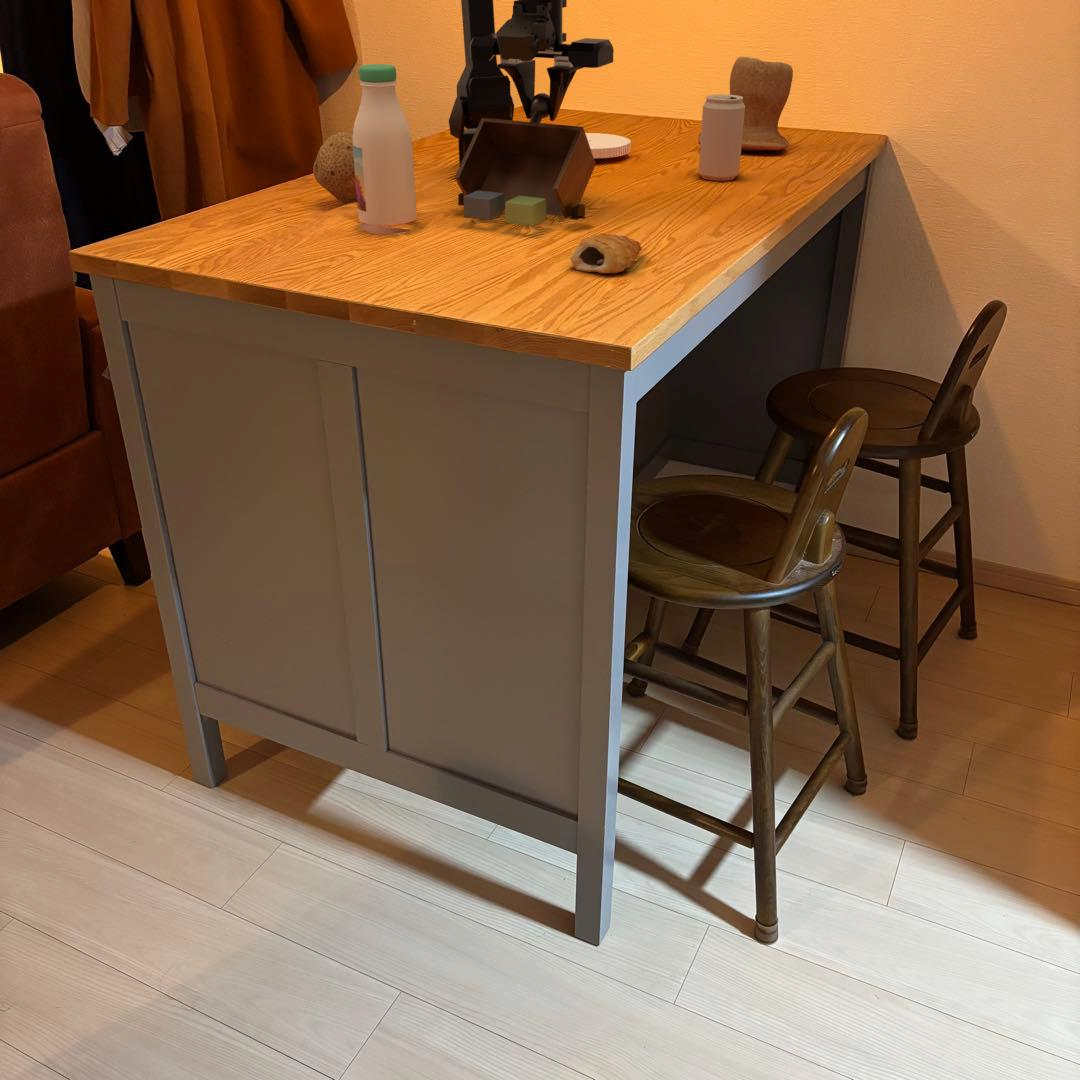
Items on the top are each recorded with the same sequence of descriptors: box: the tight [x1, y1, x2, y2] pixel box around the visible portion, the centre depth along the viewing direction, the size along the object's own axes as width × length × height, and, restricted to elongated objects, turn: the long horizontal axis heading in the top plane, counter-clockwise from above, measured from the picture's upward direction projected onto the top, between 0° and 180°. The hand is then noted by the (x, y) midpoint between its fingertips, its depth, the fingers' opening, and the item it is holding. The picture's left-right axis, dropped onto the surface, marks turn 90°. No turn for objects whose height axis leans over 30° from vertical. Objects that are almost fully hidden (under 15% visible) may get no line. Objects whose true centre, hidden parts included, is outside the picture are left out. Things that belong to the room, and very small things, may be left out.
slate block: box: [463, 190, 505, 221], centre depth 144 cm, size 4×4×4 cm
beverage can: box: [698, 93, 745, 182], centre depth 167 cm, size 6×6×12 cm
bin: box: [454, 92, 597, 219], centre depth 145 cm, size 15×15×8 cm
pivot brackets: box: [457, 192, 587, 221], centre depth 146 cm, size 19×2×3 cm, turn 64°
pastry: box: [570, 233, 642, 274], centre depth 128 cm, size 9×7×4 cm
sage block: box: [504, 196, 547, 227], centre depth 141 cm, size 4×4×4 cm
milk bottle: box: [352, 63, 418, 235], centre depth 138 cm, size 8×8×20 cm
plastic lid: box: [585, 132, 632, 159], centre depth 183 cm, size 14×14×2 cm
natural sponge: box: [312, 131, 357, 205], centre depth 151 cm, size 9×9×10 cm
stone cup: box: [697, 56, 794, 152], centre depth 186 cm, size 15×12×15 cm
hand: (541, 119), depth 146 cm, fingers closed on bin, 3 cm apart
